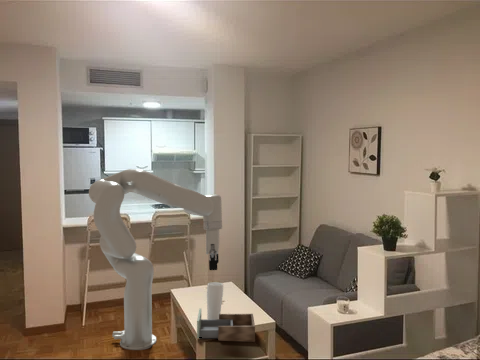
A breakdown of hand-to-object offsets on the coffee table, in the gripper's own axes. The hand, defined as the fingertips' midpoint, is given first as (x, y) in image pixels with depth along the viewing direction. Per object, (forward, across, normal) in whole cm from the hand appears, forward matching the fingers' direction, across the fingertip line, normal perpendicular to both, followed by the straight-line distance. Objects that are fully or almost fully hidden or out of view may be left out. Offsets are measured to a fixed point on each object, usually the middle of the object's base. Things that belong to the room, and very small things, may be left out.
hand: (214, 266), depth 164 cm
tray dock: (+24, +12, +8) cm, 28 cm away
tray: (+22, +12, +1) cm, 25 cm away
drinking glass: (+24, -3, -1) cm, 24 cm away
